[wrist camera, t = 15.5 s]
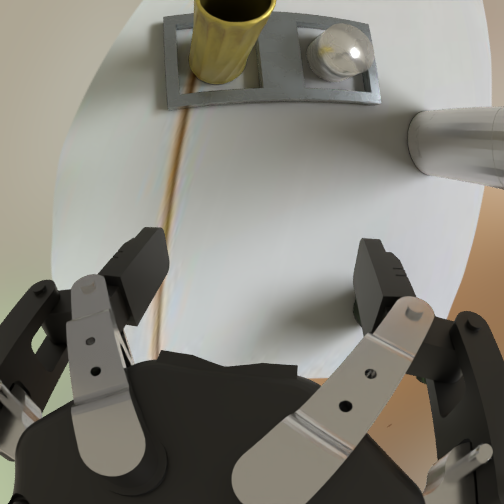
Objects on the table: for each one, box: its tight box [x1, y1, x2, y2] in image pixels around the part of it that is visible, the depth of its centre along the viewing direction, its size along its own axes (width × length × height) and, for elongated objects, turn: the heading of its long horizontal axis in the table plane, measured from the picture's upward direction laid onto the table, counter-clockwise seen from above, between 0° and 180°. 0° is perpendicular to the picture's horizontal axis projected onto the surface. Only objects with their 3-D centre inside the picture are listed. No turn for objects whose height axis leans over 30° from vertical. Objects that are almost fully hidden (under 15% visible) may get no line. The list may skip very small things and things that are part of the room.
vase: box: [189, 0, 276, 84], centre depth 20 cm, size 6×6×14 cm
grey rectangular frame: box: [163, 12, 381, 111], centre depth 25 cm, size 24×11×5 cm, turn 95°
